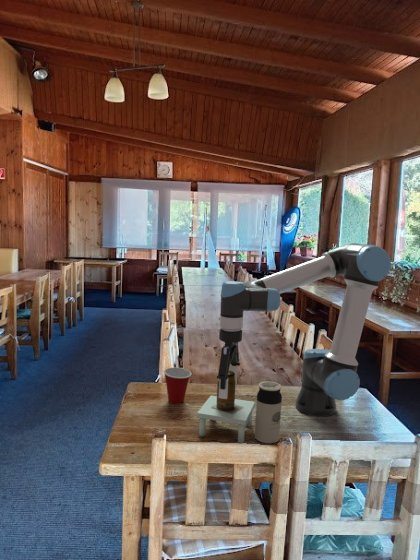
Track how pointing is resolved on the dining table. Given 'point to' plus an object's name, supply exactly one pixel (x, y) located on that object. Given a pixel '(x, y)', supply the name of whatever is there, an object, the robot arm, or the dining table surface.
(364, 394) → the dining table surface
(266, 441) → the travel mug
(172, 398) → the plastic cup
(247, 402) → the stool
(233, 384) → the condiment
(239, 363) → the robot arm
